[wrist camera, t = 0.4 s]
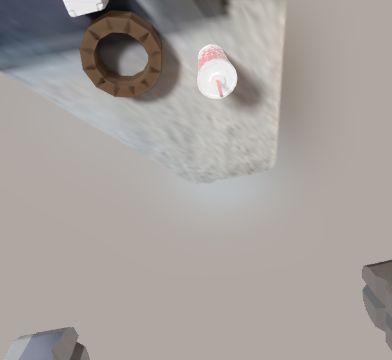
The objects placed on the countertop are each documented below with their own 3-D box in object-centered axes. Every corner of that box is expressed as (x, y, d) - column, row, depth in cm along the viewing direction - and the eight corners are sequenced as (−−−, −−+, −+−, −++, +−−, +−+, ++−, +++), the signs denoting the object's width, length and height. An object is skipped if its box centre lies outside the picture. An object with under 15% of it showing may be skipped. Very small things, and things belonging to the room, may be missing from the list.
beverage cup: (187, 51, 53) (191, 88, 43) (219, 32, 52) (232, 66, 41) (204, 81, 57) (212, 121, 47) (234, 64, 55) (250, 102, 45)
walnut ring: (104, -8, 47) (99, -1, 44) (175, 40, 52) (175, 48, 49) (74, 63, 53) (68, 72, 50) (140, 98, 59) (138, 109, 56)
